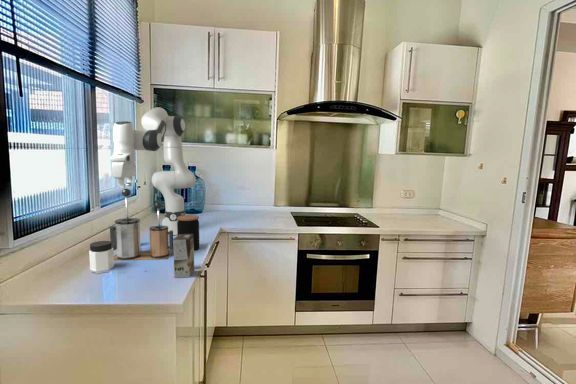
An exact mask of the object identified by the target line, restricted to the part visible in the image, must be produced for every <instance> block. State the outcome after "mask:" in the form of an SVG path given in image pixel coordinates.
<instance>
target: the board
mask: <svg viewBox="0 0 576 384" xmlns="http://www.w3.org/2000/svg"><path fill="white" fill-rule="evenodd" d="M173 253H174V249H173V250H170V249H169V255H168V256H167V257H163V258H152V257H151V254H150V250H141V253H140V257H138V258H135V259H129V260H120V259H117V253H116V254H114V262H116V261H117V262H119V261H121V262H122V261H125V262H126V261H150V260H151V261H153V260H154V261H159V260H168V259H169V258H170V257H171V255H172V254H173Z"/></svg>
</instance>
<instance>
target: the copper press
mask: <svg viewBox="0 0 576 384" xmlns="http://www.w3.org/2000/svg"><path fill="white" fill-rule="evenodd" d="M148 230H149V247H150V248H149V251H150V254H151V257H152V258H163V257H167V256H168V255H169V250H174V240H173V239H174V235H173V230H170V231H169V232H168V226H162V225H160V228H158V225H153V226H150V227H149V229H148ZM168 234H169V235H168Z"/></svg>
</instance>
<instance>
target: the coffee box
mask: <svg viewBox="0 0 576 384" xmlns="http://www.w3.org/2000/svg"><path fill="white" fill-rule="evenodd" d="M173 250H174V251H173V277H174V278H190V277H191V276H192V274H193V272H194V271H195V251H194V234H179V235H176V236H175V237H173Z"/></svg>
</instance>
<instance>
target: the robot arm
mask: <svg viewBox="0 0 576 384" xmlns="http://www.w3.org/2000/svg"><path fill="white" fill-rule="evenodd" d="M140 123H141V126H142V129H136V128H134V125H133V122H131V121H125V120H124V121H116V122H114V124H113V128H112V142H113V153H112V155H111V156H110V162H112V163H111V167H112V168H111V171H112V176H113V179H115V180H117V182H118V184H119V189H126V187H132V185H133V177H136V175H137V169H136V168H137V167H136V162H135V161H136V151H149V152H156V151H158V150H159V149H160V148H161V146H162V147H163V160H164V162H165V163H166V164H167V165H168V166H171V167H172V168H174V170H161V171H160V170H159V171H156V172H154V173H153V174H152V176H151V184H152V186H153V187H154V188H155V189H157V190H158V191H159V192H160V193H161V194H162V196H163V198H164V199H163V200H164V205H165V207H164V208H165V211H164V218H163V219H162V223H161V224H162V225H161V226H168V232H169V231H170V230H173V236H178V234H177V222H178V219H177V217H178V216H182V215H186V210H185V199H184V197H183V196H182V195H180V194H178V193H176V192H175V191H174V189H175V190H176V189H188V188H189V189H190V188H192V187H194V186H195V184H196V181H197V178H196V175H195V174H194V173H193V171H191V170H190V169H188V167H187V166H186V163H185V162H184V161H185V160H184V155H183V142H182V135H183V134H184V133H185V131H186V122H185V119H184V118H183V117H182V116H180V115H179V116H178V115H175V116H172V115H171V116H170V115H169V114H168V112H167V110H166V109H164V108H162V107H160V106H159V107H158V106H156V107H153V108H151V109H150V110H148V111H147V112H145V113H144V114H143V115H142V117H141V119H140ZM162 142H163V145H162ZM125 179H127V181H126V185H125ZM168 236H169V234H168Z"/></svg>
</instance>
